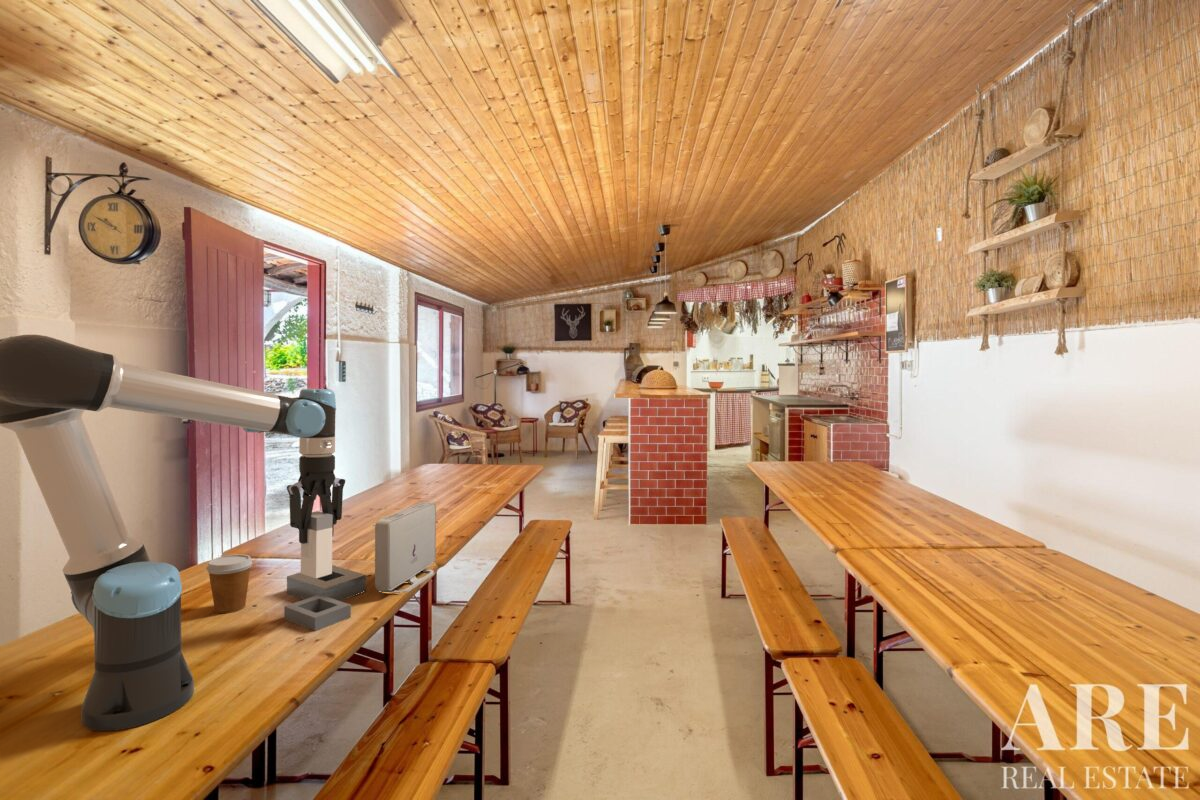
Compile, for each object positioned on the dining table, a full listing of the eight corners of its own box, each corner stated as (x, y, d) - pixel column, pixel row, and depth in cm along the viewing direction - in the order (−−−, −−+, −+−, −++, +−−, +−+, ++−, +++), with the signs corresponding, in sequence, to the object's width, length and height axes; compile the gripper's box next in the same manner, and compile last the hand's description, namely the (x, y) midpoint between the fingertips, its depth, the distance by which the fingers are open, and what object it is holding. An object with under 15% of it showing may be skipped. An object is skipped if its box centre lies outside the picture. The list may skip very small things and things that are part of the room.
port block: (324, 606, 143) (324, 587, 143) (286, 593, 151) (286, 575, 151) (365, 591, 153) (365, 573, 153) (328, 579, 161) (328, 563, 161)
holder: (315, 631, 129) (315, 617, 129) (284, 618, 135) (284, 606, 135) (350, 617, 137) (350, 604, 137) (319, 606, 143) (319, 594, 143)
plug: (316, 578, 132) (316, 517, 132) (300, 573, 135) (301, 514, 135) (331, 573, 136) (332, 514, 135) (316, 568, 139) (317, 511, 138)
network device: (395, 600, 148) (396, 523, 147) (365, 597, 149) (365, 520, 149) (442, 568, 173) (443, 502, 172) (415, 566, 174) (416, 500, 174)
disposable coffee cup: (258, 608, 141) (258, 559, 141) (212, 619, 134) (212, 568, 134) (246, 597, 148) (245, 551, 147) (202, 608, 141) (201, 559, 140)
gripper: (291, 459, 125) (290, 566, 126) (359, 452, 140) (358, 548, 141) (271, 457, 129) (270, 560, 130) (340, 450, 144) (339, 543, 144)
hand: (316, 553), depth 135 cm, fingers closed on plug, 4 cm apart
